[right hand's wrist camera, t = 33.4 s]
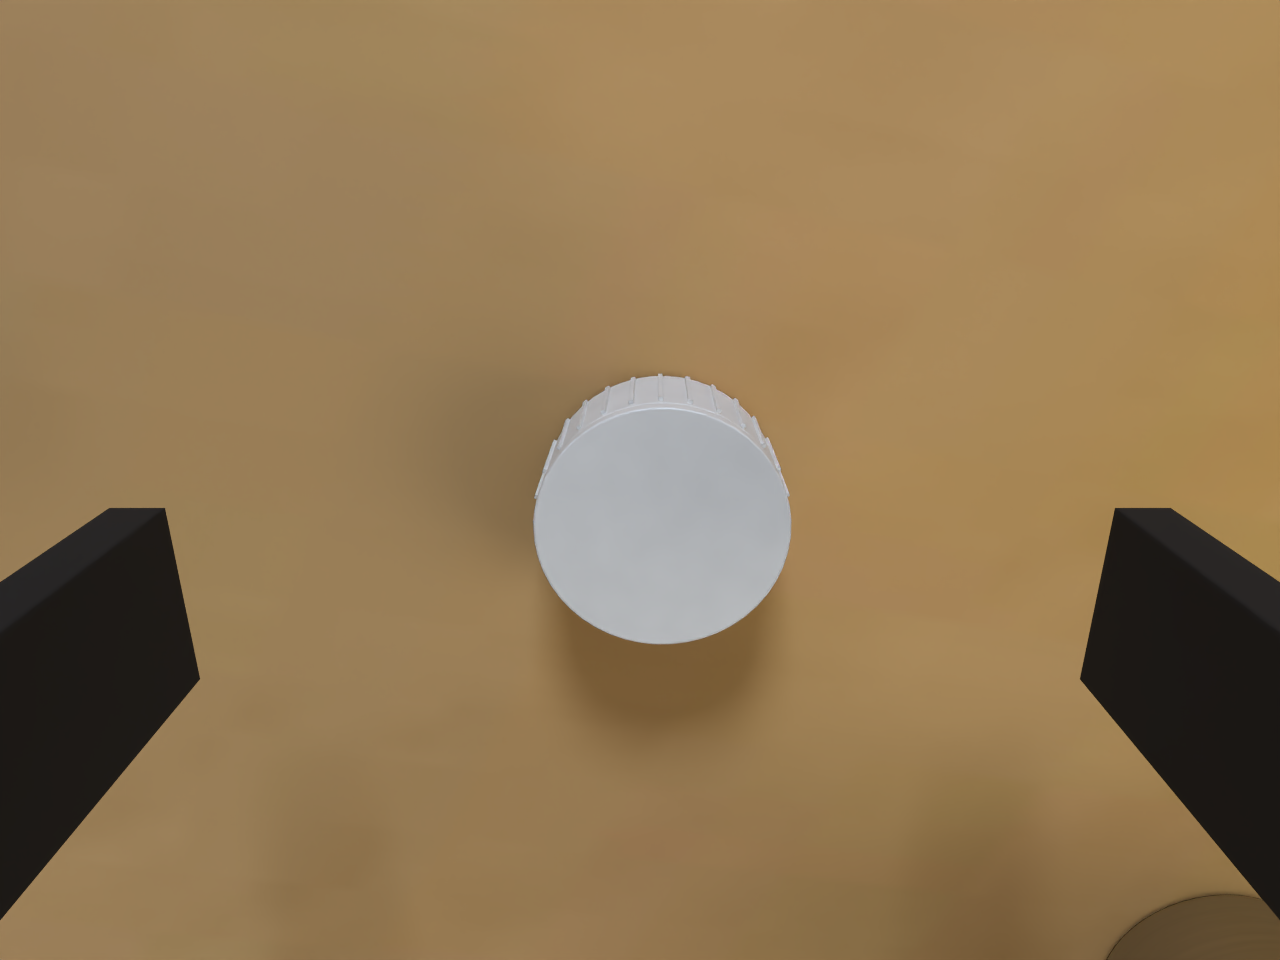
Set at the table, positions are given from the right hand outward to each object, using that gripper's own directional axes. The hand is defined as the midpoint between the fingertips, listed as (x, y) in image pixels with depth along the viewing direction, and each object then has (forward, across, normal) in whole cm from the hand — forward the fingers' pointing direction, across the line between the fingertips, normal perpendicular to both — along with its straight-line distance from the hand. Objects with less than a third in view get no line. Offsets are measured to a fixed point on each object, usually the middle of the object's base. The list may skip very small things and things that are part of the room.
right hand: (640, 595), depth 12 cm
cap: (+3, 0, 0) cm, 3 cm away
